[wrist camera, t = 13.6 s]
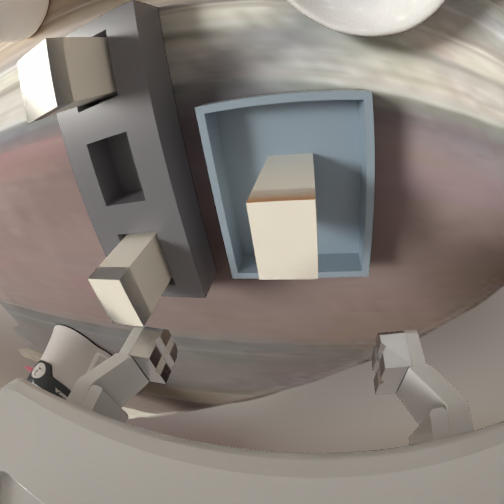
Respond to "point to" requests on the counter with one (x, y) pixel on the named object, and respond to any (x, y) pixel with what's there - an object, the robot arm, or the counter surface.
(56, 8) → the counter surface
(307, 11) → the spoon rest
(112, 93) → the block
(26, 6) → the water bottle
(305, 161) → the orange cap fuse
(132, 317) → the block
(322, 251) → the tray
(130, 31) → the fuse strip
